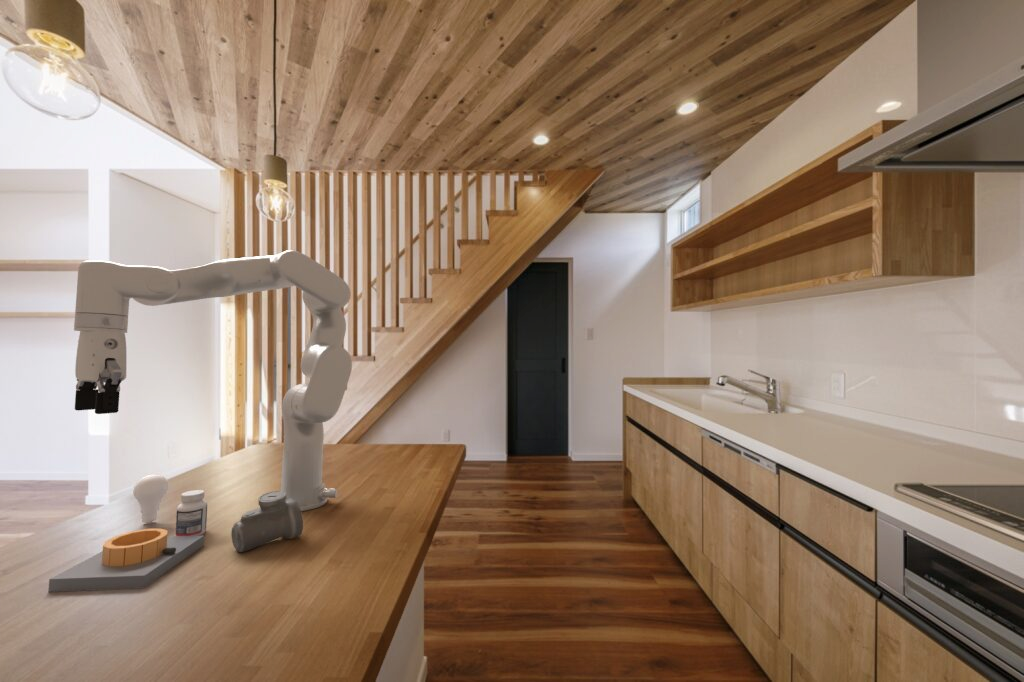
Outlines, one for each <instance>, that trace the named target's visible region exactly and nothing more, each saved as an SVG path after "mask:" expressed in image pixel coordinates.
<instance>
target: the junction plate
mask: <svg viewBox="0 0 1024 682" xmlns="http://www.w3.org/2000/svg"><path fill="white" fill-rule="evenodd" d="M204 545H205V535H204V534H202V535H199V536H176V535H173V536H171V535H170V536H168V529H163V528H160V527H158V528H144V529H138V530H133V531H128V532H126V533H122V534H118V535H116V536H113V537H112V538H110V539H107V540H106V541H104V544H103V545H102V551H100V552H99V553H96V554H95V555H93V556H91V557H89V558H87V559H85V560H83V561H81V562H79V563H77V564H75V565H73V566H72V567H70V568H67V569H66V570H64V571H62V572H60V573H58V574H56V575H54V576H53V577H51V578H49V579H48V590H47V591H48V593H49V592H50V593H54V592H55V591H56V592H58V591H59V592H77V591H98V590H99V591H102V590H103V591H105V590H106V591H107V590H122V589H123V590H127V589H128V590H129V589H145V588H146V587H147V586H149V585H150V584H151V583H153V582H154V581H156V580H157V579H159V578H160V577H161V576H163V575H164V574H165V573H167V572H169V571H170V570H171V569H172V568H174V567H175V566H177V565H178V564H180V563H181V562H182V561H184V560H185V559H186V558H188V557H190V556H191V555H192V554H194V553H196V551H198V550H200V549H201V548H202V547H203V546H204ZM51 591H52V592H51ZM56 592H55V593H56ZM59 592H58V593H59Z"/></svg>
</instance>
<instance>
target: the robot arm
mask: <svg viewBox="0 0 1024 682" xmlns="http://www.w3.org/2000/svg"><path fill="white" fill-rule="evenodd" d="M293 286H294V287H296V288H298V289H299V290H300V291H302V293H301V294H302V301H303V303H304V305H305V307H306V308H307V309H308V311H309V312H310V315H311V317H312V330H311V333H310V336H309V339H308V341H307V344H306V347H305V350H304V352H303V355H302V357H301V360H300V371H301V373H302V374H303V375H304V376H305V377H307V378H308V379H309V380H308V383H306V382H305V383H299V384H296V385H293V386H292V387H291V388H289V389H288V390H287V391H286V393H285V394H284V396H283V399H282V402H281V404H282V405H281V407H282V408H281V409H282V412H281V413H282V419H283V420H282V421H283V447H282V463H281V464H282V465H281V466H282V468H281V486H280V488H281V489H280V491H284V492H285V493H286V500H288V499H290V498H293V499H295V500H296V502H297V503H298V504H299V506H300V509H301V512H303V511H309V510H313V509H317V508H319V507H321V506H323V505H325V504H326V503H327V501H328V498H329V499H330V498H331V499H334V498H336V499H337V497H338V494H339V493H338V490H337V489H336V488H327V487H326V483H325V482H324V483H323V482H322V480H323V477H322V476H323V461H324V460H323V455H324V453H323V452H324V441H325V440H324V439H325V438H324V437H325V436H324V435H325V434H324V424H323V423H326V422H328V421H330V420H331V419H333V418H334V417H335V416H336V414H337V412H338V411H339V409H340V407H341V404H342V401H343V399H344V396H345V392H346V391H347V386H348V384H349V380H350V377H351V373H352V368H353V362H352V361H353V360H352V358H351V354H350V353H349V352H348V350H347V349H345V348H344V347H343V344H344V339H345V335H346V332H347V322H346V319H345V315H344V312H343V310H342V308H343V307H346V306H347V304H348V303H349V302H350V300H351V289H350V287H349V285H348V283H347V282H346V281H345V280H344V279H343V278H341V276H339V275H337V274H336V273H334V272H333V271H331V270H329V269H328V268H326V267H325V266H324V265H322V264H321V263H320V262H318V261H316V260H314V259H313V258H311V257H310V256H308V255H306V254H304V253H302V252H300V251H297V250H293V249H291V250H290V249H289V250H285V251H282V252H280V253H278V254H274V255H264V256H263V255H262V256H253V257H252V256H251V257H249V256H248V257H240V258H238V257H237V258H226V259H222V260H221V259H220V260H217V261H213V262H211V263H207V264H204V265H199V266H196V267H195V266H194V267H190V268H183V269H175V270H169V269H168V268H164V267H161V266H153V265H152V266H151V265H149V266H148V265H125V264H121V263H118V262H117V263H116V262H113V261H105V260H97V259H95V260H90V259H89V260H84V261H81V262H80V264H78V269H77V285H76V296H75V297H76V298H75V309H74V311H75V312H74V322H73V331H74V332H75V331H76V332H79V336H78V340H77V348H76V358H75V370H74V372H75V379H76V382H77V383H76V385H75V397H74V410H75V411H88V410H89V411H90V410H94V414H96V415H102V414H104V415H105V414H115V413H116V414H117V413H118V412H119V405H120V391H121V383H122V382H123V381H125V380H126V378H127V340H126V334H128V329H129V328H128V327H129V325H128V324H129V313H130V312H129V309H130V299H133V300H134V301H136V302H137V303H139V304H141V305H145V306H151V307H154V306H163V305H170V304H176V303H185V302H189V301H190V302H191V301H199V300H204V299H213V298H227V297H230V296H231V297H232V296H237V295H238V296H239V295H245V294H251V293H258V292H266V291H272V290H280V289H286V288H290V287H291V288H292V287H293Z"/></svg>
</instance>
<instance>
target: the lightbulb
mask: <svg viewBox="0 0 1024 682" xmlns="http://www.w3.org/2000/svg"><path fill="white" fill-rule="evenodd" d="M168 490H169V481H168V479H167V478H166V477H165V475H164V476H163V475H161V474H157V473H156V474H153V473H151V474H148V475H145V476H144V477H141V478H140V479H139V480H137V482H136V483H135V485H134V487H133V496H134V498H135V499H136V500H137V502H138V504H139V508H140V513H141V521H142V523H145V524H147V525H148V524H152V523H153V522H155V521H156V520H157V517H158V512H159V510H160V506H161V502H162V499H163V498H164V497H165V496H166V493H168Z"/></svg>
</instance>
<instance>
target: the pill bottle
mask: <svg viewBox="0 0 1024 682" xmlns="http://www.w3.org/2000/svg"><path fill="white" fill-rule="evenodd" d="M180 502H181V503H180V504H179V505H178V506H177V507H176V516H175V517H176V521H175V536H200V535H204V533H206V532H207V520H208V517H207V516H208V502H207V501H206V500H205V490H203V489H196V490H195V489H194V490H188V491H184V492H183V493H181V494H180Z"/></svg>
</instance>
